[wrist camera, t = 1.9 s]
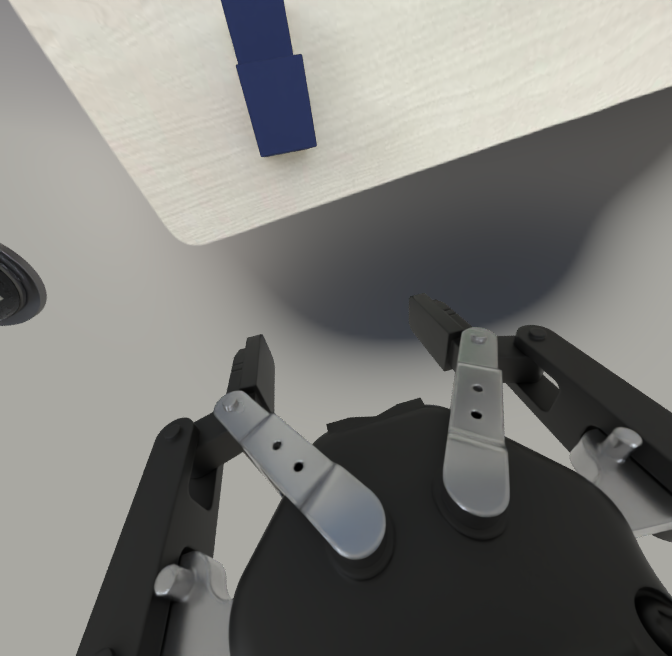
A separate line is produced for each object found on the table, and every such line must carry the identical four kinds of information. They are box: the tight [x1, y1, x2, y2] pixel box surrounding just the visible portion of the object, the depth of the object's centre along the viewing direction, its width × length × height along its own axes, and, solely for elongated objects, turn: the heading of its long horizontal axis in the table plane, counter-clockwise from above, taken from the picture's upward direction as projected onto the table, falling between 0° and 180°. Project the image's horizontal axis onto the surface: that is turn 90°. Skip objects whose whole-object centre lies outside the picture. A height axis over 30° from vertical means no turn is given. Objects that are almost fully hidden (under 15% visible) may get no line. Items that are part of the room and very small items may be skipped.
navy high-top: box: [221, 0, 317, 157], centre depth 20 cm, size 4×10×9 cm, turn 9°
